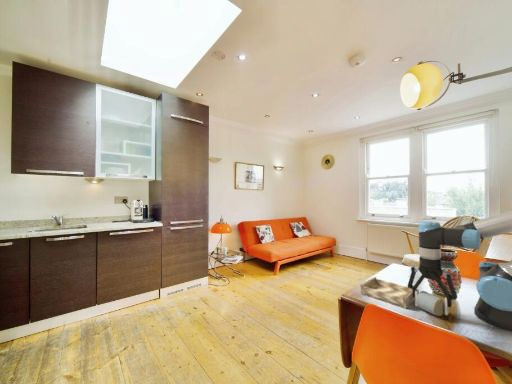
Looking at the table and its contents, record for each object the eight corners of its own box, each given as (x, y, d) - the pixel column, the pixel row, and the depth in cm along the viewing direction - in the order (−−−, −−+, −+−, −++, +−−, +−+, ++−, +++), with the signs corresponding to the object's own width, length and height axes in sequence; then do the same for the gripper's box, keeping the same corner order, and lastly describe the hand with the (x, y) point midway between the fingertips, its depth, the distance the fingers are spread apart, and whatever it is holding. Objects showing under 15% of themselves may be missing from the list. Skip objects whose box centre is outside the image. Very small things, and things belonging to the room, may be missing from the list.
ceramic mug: (436, 318, 90) (435, 299, 90) (415, 309, 98) (415, 291, 98) (452, 314, 94) (452, 296, 94) (431, 305, 101) (431, 288, 102)
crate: (416, 297, 110) (416, 288, 110) (405, 309, 99) (405, 298, 99) (374, 285, 125) (374, 276, 125) (360, 293, 114) (360, 284, 114)
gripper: (466, 261, 90) (467, 316, 89) (403, 251, 107) (404, 298, 106) (463, 264, 85) (465, 323, 85) (398, 254, 102) (399, 303, 101)
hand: (431, 309), depth 95 cm, fingers closed on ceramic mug, 9 cm apart
